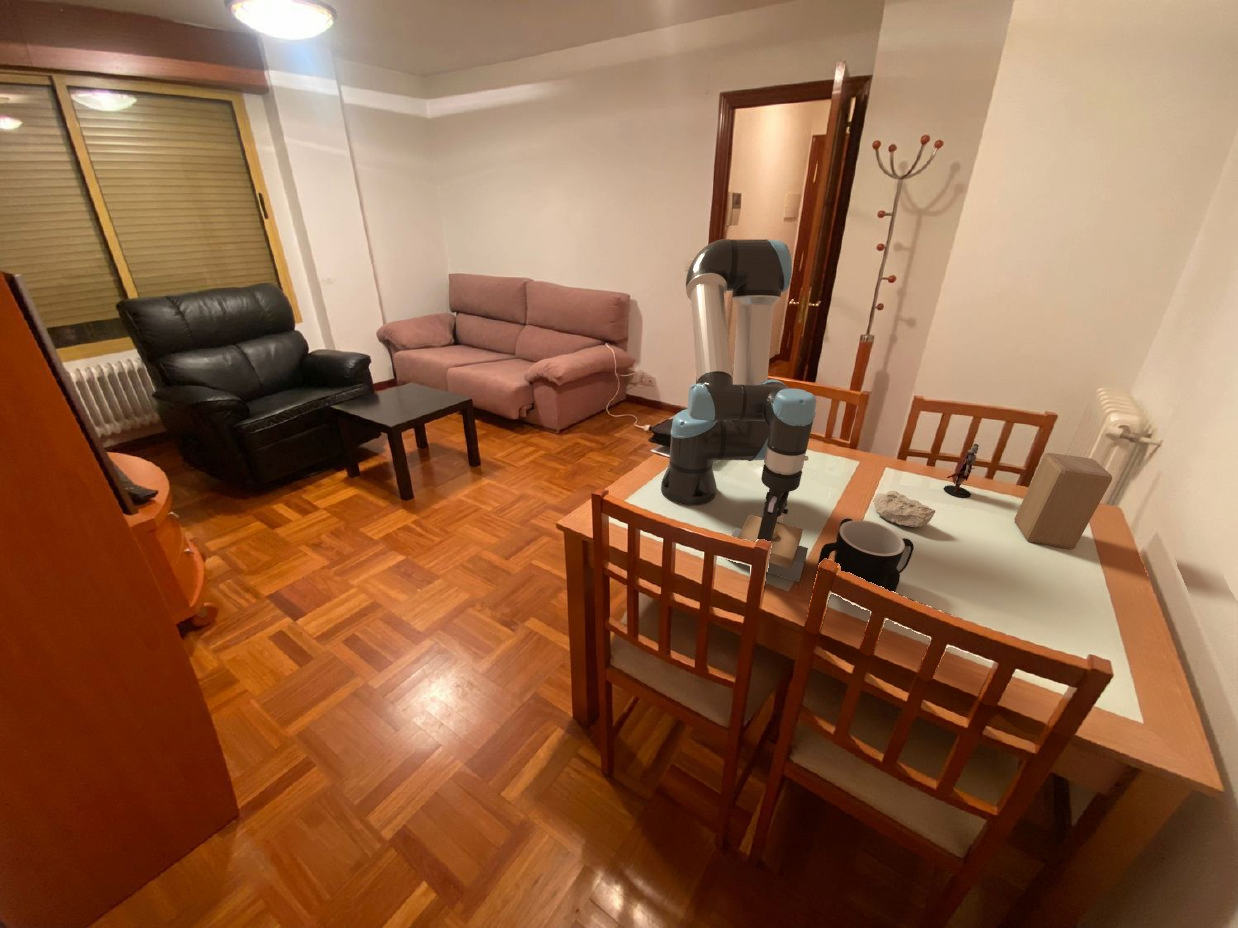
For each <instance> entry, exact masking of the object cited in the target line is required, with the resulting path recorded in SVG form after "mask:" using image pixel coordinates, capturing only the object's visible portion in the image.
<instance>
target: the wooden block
mask: <svg viewBox="0 0 1238 928" xmlns="http://www.w3.org/2000/svg"><path fill="white" fill-rule="evenodd" d="M1112 480H1113V475H1112V474H1110V472H1108V471H1107V470H1106V469H1105V468H1104V467H1103V466H1102V465H1101V464H1100V463H1099V462H1097V460H1095V459H1094V458H1092V457H1083V456H1076V455H1070V454H1069V455H1067V454H1061V453H1054V452H1046V453H1045V454H1044V455H1043V456H1042V458H1041V460H1040V463H1039V465H1038V466H1037V469H1036V471H1035V474H1034V476H1033V478H1032V479H1031V482H1030V484H1029V486H1028V489H1027V490H1026V493H1025V495H1024V497H1023V499H1022V501H1021V503H1020V506H1019V508H1018V510H1017V512H1016V514H1015V516H1014V524H1016V527H1017V528H1018V529H1019V531H1020V533H1021V534H1022V536H1023V537H1024V539H1025V541H1028V542H1032V543H1037V544H1042V545H1047V546H1054V547H1058V548H1065V549H1070V550H1071V549H1075V548H1076V547H1077V545H1078V543H1079V541H1080V539H1082V538H1081V537H1082V536H1083V534H1084V532H1085V530H1086V528H1087V526H1088V524H1089V523H1090V521H1091V520H1092V517H1093V516H1094V514H1095V512H1096V510H1097V508H1098V507H1099V505H1100V503H1101V501H1102V500H1103V498H1104V495H1105V494H1106V492H1107V489H1109V486H1110V484H1111V483H1112Z"/></svg>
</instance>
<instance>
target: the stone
mask: <svg viewBox="0 0 1238 928" xmlns="http://www.w3.org/2000/svg"><path fill="white" fill-rule="evenodd" d="M872 502H873V505H874V509H875V513H876V514H877V515H878V516H881V517H882V518H884V519H885V520H886V521H888V522H891V523H895V524H897V525H900V526H907V527H912V528H918V527H919V528H920V527H923V526H924V525H926V524H929V523H930V521H932V518H933V517H934V515H935V513H936V510H935V509H933V508H931V507H930V506H928V505H925V504H922V502H920V501H919V500H916V499H909V497H907V496H906V495H904V494H902V493H899V492H898V491H896V490H889V491H887V492H886V493H877V494H875V496H874V497H873V499H872Z"/></svg>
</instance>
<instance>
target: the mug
mask: <svg viewBox="0 0 1238 928" xmlns="http://www.w3.org/2000/svg"><path fill="white" fill-rule="evenodd" d="M914 548H915V545H914V542H912V540H911V539H909V538H904V537H901V536H900V535H899V534H898V533H897V532H896V531H894V530H893V529H891V528H890V527H887V526H885V525H882V524H881V523H877V522H874V521H870V520H864V519H863V520H862V519H861V520H860V519H859V520H858V519H857V520H856V519H853V518H850V517H849V518H848V517H847V518H843V519H842V520H841V522H840V523H839V528H838V530H837V535H836V541H835V542H834V541H833V542H828V543H825V544H824V545H823V547H822V548H821V550H820V553H819V557H818V560H817V566H818V565H819V563H820V562H821V561H822V560H823V559H824V558H827V559H830V556H831V554H832V552H834V558H833V563H834V562H836V563H839V564H840V566H841V571H845V572H850V573H852V574H854V575H856V576H858V577H861V578H863V579H865V580H866V581H868V582H872V583H874V584H876V585H878V586H882V587H884V588H885V589H888V590H889V591H894V592H895V593H896V591H897V589H898V586H899V583H900V580H901V573H902V572H903V571H904V570H905V569H906V568H907V566H908V564H909V562H910V561H911V558H912V555H913V552H914ZM884 588H883V589H884Z"/></svg>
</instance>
